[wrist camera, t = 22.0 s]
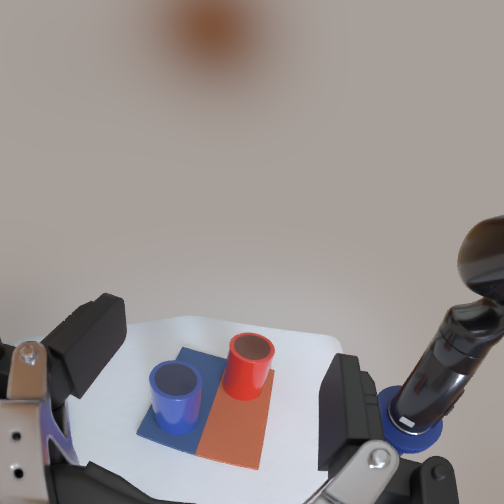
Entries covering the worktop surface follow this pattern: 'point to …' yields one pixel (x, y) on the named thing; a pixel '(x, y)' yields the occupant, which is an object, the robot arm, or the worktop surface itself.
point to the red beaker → (247, 366)
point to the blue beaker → (176, 396)
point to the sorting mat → (218, 418)
